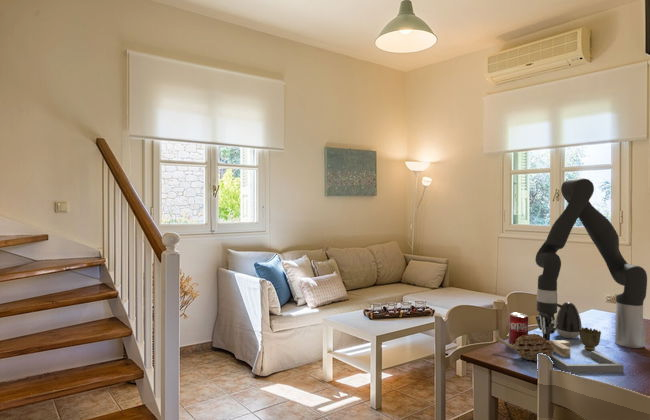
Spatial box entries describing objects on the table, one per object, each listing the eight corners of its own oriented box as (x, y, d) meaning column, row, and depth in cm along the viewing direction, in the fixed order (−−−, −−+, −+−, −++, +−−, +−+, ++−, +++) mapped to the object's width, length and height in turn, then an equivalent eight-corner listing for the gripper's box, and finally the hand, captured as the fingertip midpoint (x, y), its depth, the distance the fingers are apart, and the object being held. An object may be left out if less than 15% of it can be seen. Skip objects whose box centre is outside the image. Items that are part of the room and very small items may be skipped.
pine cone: (557, 362, 156) (558, 335, 156) (548, 369, 149) (549, 340, 149) (497, 347, 172) (498, 322, 172) (487, 353, 165) (487, 327, 165)
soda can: (530, 347, 173) (530, 317, 172) (510, 345, 174) (511, 316, 174) (525, 341, 180) (525, 313, 180) (506, 340, 181) (507, 312, 181)
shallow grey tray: (594, 357, 162) (594, 351, 162) (623, 372, 147) (623, 365, 147) (543, 357, 161) (543, 351, 160) (567, 373, 146) (567, 365, 146)
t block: (565, 347, 173) (565, 340, 173) (581, 356, 163) (581, 348, 163) (536, 347, 172) (536, 340, 172) (551, 356, 162) (551, 348, 162)
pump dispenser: (551, 332, 194) (552, 298, 194) (577, 334, 191) (578, 300, 191) (557, 339, 184) (558, 303, 184) (584, 341, 181) (585, 305, 181)
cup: (593, 354, 165) (593, 333, 165) (574, 348, 172) (575, 328, 172) (604, 351, 169) (605, 331, 169) (585, 345, 175) (586, 326, 175)
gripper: (565, 304, 169) (564, 347, 170) (546, 296, 183) (545, 337, 183) (547, 304, 169) (546, 347, 169) (529, 296, 182) (528, 337, 182)
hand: (546, 342), depth 176 cm, fingers closed
